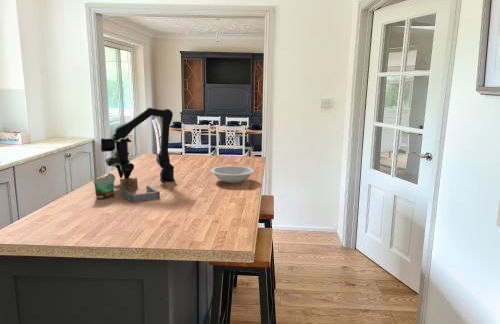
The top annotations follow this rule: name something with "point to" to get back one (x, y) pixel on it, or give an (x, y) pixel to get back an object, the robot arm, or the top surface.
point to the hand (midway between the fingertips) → (123, 179)
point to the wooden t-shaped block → (129, 184)
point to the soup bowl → (232, 173)
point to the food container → (104, 187)
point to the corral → (142, 195)
